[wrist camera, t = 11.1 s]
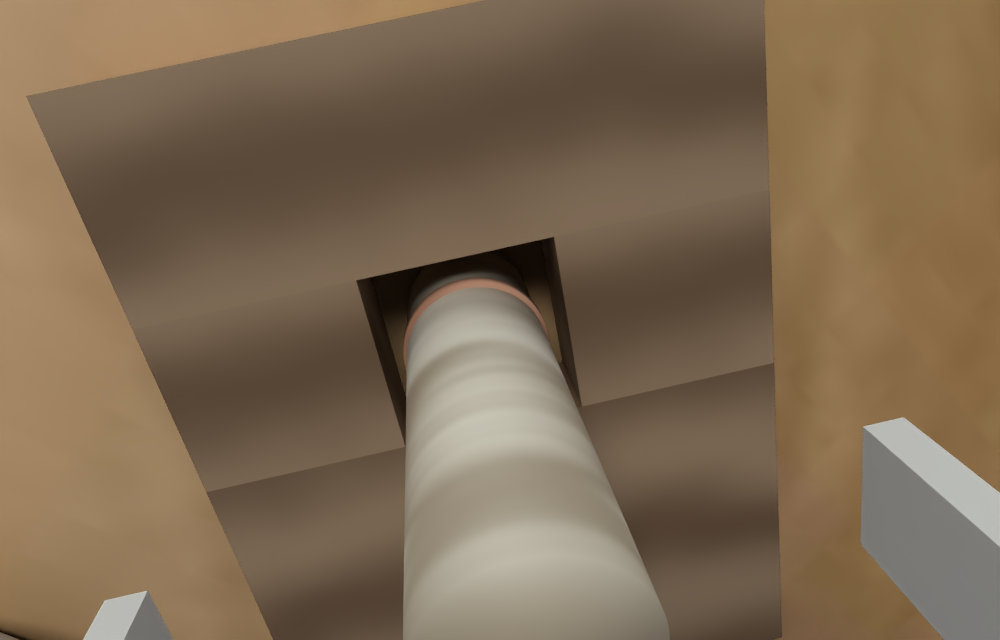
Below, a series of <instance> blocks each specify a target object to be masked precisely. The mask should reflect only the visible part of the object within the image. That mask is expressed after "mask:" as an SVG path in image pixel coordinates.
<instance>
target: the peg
mask: <svg viewBox="0 0 1000 640" xmlns="http://www.w3.org/2000/svg"><path fill="white" fill-rule="evenodd" d="M403 353H404V363H405V368H406V371H407V386H406V458H405V529H404V600H403V640H670V631H669V626H668V622H667V618H666V615H665V613H664V610H663V608H662V606H661V603H660V601H659V599H658V596H657V594H656V592H655V589H654V587H653V585H652V582H651V580H650V578H649V575H648V573H647V571H646V568H645V566H644V564H643V561H642V559H641V556H640V554H639V552H638V549H637V547H636V545H635V542H634V540H633V538H632V535H631V533H630V531H629V528H628V526H627V524H626V521H625V519H624V517H623V514H622V512H621V510H620V507H619V505H618V503H617V500H616V498H615V496H614V493H613V491H612V489H611V486H610V484H609V481H608V479H607V477H606V474H605V472H604V470H603V467H602V465H601V463H600V460H599V458H598V456H597V453H596V451H595V449H594V446H593V444H592V442H591V439H590V437H589V435H588V432H587V430H586V428H585V425H584V423H583V421H582V418H581V416H580V413H579V411H578V409H577V406H576V404H575V402H574V399H573V397H572V395H571V392H570V390H569V388H568V385H567V383H566V381H565V378H564V376H563V374H562V371H561V369H560V367H559V364H558V362H557V360H556V357H555V355H554V353H553V350H552V348H551V345H550V342H549V335H548V331H547V327H546V325H545V322H544V320H543V318H542V316H541V313H540V312H539V310H538V308H537V307H536V305H535V304H534V303H533V301H532V300H531V299H530V296H529V294H528V292H527V289H526V287H525V285H524V282H523V280H522V278H521V276H520V275H519V273H518V272H517V271H516V269H515V268H514V267H513V266H512V265H511V264H510V263H509V262H507V261H506V260H505V259H503V258H502V257H500V256H498V255H496V254H494V253H491V252H488V251H487V252H483V253H478V254H474V255H469V256H465V257H460V258H455V259H451V260H446V261H442V262H437V263H433V264H428V265H426V266H425V267H424V268H423V269H422V270H421V271H420V273H419V274H418V275H417V277H416V278H415V280H414V282H413V284H412V287H411V289H410V293H409V297H408V315H407V327H406V331H405V335H404V348H403Z"/></svg>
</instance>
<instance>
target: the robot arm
mask: <svg viewBox="0 0 1000 640" xmlns="http://www.w3.org/2000/svg"><path fill="white" fill-rule="evenodd" d="M861 545H862V546H863V547H864V548H865V549H866V551H867V552H868V553H869V554H870V555H871V556H872V558H873V559H874V560H875V561H876V562H877V563H878V564H879V566H880V567H881V568H882V569H883V570H884V571H885V572H886V574H887V575H888V576H889V577H890V578H891V579H892V581H893V582H894V583H895V584H896V585H897V586H898V587H899V589H900V590H901V591H902V592H903V593H904V594H905V595H906V597H907V598H908V599H909V600H910V601H911V602H912V603H913V605H914V606H915V607H916V608H917V609H918V610H919V612H920V613H921V614H922V615H923V616H924V617H925V618H926V620H927V621H928V622H929V623H930V624H931V625H932V626H933V628H934V629H935V630H936V631H937V632H938V633H939V635H940V636H941V637H942V638H943V639H944V640H1000V493H999V492H998V491H997V490H995V489H994V488H993V487H992V486H990V485H989V484H988V483H986V482H985V481H984V480H983V479H981V478H980V477H979V476H978V475H976V474H975V473H974V472H972V471H971V470H970V469H969V468H967V467H966V466H965V465H964V464H962V463H961V462H960V461H958V460H957V459H956V458H955V457H953V456H952V455H951V454H950V453H948V452H947V451H946V450H945V449H943V448H942V447H941V446H939V445H938V444H937V443H936V442H934V441H933V440H932V439H931V438H929V437H928V436H927V435H925V434H924V433H923V432H922V431H920V430H919V429H918V428H917V427H915V426H914V425H913V424H911V423H910V422H909V421H908V420H906V419H905V418H904V417H903V418H899V419H894V420H890V421H886V422H881V423H877V424H873V425H868V426H864V427H863V460H862V509H861ZM83 640H173V638H172V637H171V635H170V633H169V631H168V629H167V627H166V625H165V623H164V621H163V619H162V617H161V615H160V613H159V611H158V610H157V608H156V606H155V604H154V602H153V600H152V598H151V596H150V594H149V592H148V591H144V592H140V593H135V594H131V595H126V596H122V597H118V598H113V599H109V600H105V601H104V603H103V604H102V606H101V608H100V610H99V612H98V613H97V615H96V617H95V619H94V621H93V622H92V624H91V626H90V628H89V630H88V631H87V633H86V635H85V637H84V639H83Z"/></svg>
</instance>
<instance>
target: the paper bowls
mask: <svg viewBox="0 0 1000 640" xmlns="http://www.w3.org/2000/svg"><path fill="white" fill-rule="evenodd" d="M0 640H19V639H17V638H14V637H11V636H9V635H6V634H4V633H1V632H0Z"/></svg>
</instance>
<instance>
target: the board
mask: <svg viewBox="0 0 1000 640" xmlns="http://www.w3.org/2000/svg"><path fill="white" fill-rule="evenodd" d="M26 97H27V99H28V101H29V103H30V106H31V108H32V110H33V112H34V114H35V117H36V119H37V121H38V123H39V125H40V128H41V130H42V132H43V134H44V136H45V139H46V141H47V143H48V145H49V147H50V150H51V152H52V154H53V156H54V158H55V161H56V163H57V165H58V167H59V169H60V172H61V174H62V176H63V178H64V180H65V183H66V185H67V187H68V189H69V191H70V194H71V196H72V198H73V200H74V202H75V205H76V207H77V209H78V211H79V213H80V215H81V218H82V220H83V222H84V224H85V226H86V229H87V231H88V233H89V235H90V237H91V240H92V242H93V244H94V246H95V248H96V251H97V253H98V255H99V257H100V259H101V262H102V264H103V266H104V268H105V270H106V273H107V275H108V277H109V279H110V281H111V284H112V286H113V288H114V290H115V292H116V295H117V297H118V299H119V301H120V303H121V306H122V308H123V310H124V312H125V314H126V317H127V319H128V321H129V323H130V325H131V328H132V330H133V332H134V334H135V336H136V339H137V341H138V343H139V345H140V347H141V350H142V352H143V354H144V356H145V358H146V361H147V363H148V365H149V367H150V369H151V371H152V374H153V376H154V378H155V380H156V382H157V385H158V387H159V389H160V391H161V393H162V396H163V398H164V400H165V402H166V404H167V407H168V409H169V411H170V413H171V415H172V418H173V420H174V422H175V424H176V426H177V429H178V431H179V433H180V435H181V437H182V440H183V442H184V444H185V446H186V448H187V451H188V453H189V455H190V457H191V459H192V462H193V464H194V466H195V468H196V470H197V473H198V475H199V477H200V479H201V481H202V484H203V486H204V488H205V490H206V492H207V495H208V497H209V499H210V501H211V503H212V506H213V508H214V510H215V512H216V514H217V517H218V519H219V521H220V523H221V525H222V527H223V530H224V532H225V534H226V536H227V538H228V541H229V543H230V545H231V547H232V549H233V552H234V554H235V556H236V558H237V560H238V563H239V565H240V567H241V569H242V571H243V574H244V576H245V578H246V580H247V582H248V585H249V587H250V589H251V591H252V593H253V596H254V598H255V600H256V602H257V604H258V607H259V609H260V611H261V613H262V615H263V618H264V620H265V622H266V624H267V626H268V629H269V631H270V633H271V635H272V637H273V640H403V600H404V529H405V458H406V397H405V393H404V390H403V386H402V383H401V379H400V376H399V372H398V369H397V365H396V362H395V358H394V355H393V351H392V348H391V344H390V341H389V337H388V334H387V330H386V327H385V323H384V320H383V316H382V313H381V309H380V306H379V302H378V299H377V295H376V292H375V288H374V285H373V281H372V278H371V277H374V276H378V275H383V274H387V273H392V272H396V271H401V270H406V269H410V268H415V267H419V266H424V265H428V264H433V263H437V262H442V261H446V260H451V259H455V258H460V257H465V256H469V255H474V254H478V253H483V252H487V251H492V250H496V249H501V248H505V247H510V246H515V245H519V244H524V243H528V242H533V241H537V240H542V246H543V252H544V257H545V263H546V269H547V275H548V281H549V286H550V292H551V298H552V304H553V310H554V316H555V321H556V327H557V333H558V339H559V345H560V350H561V356H562V362H563V363H561V364H559V367H560V369H561V371H562V374H563V376H564V378H565V381H566V383H567V385H568V388H569V390H570V392H571V395H572V397H573V399H574V402H575V404H576V406H577V409H578V411H579V413H580V416H581V418H582V421H583V423H584V425H585V428H586V430H587V432H588V435H589V437H590V439H591V442H592V444H593V446H594V449H595V451H596V453H597V456H598V458H599V460H600V463H601V465H602V467H603V470H604V472H605V474H606V477H607V479H608V481H609V484H610V486H611V489H612V491H613V493H614V496H615V498H616V500H617V503H618V505H619V507H620V510H621V512H622V514H623V517H624V519H625V521H626V524H627V526H628V528H629V531H630V533H631V535H632V538H633V540H634V542H635V545H636V547H637V549H638V552H639V554H640V556H641V559H642V561H643V564H644V566H645V568H646V571H647V573H648V575H649V578H650V580H651V582H652V585H653V587H654V589H655V592H656V594H657V596H658V599H659V601H660V603H661V606H662V608H663V610H664V613H665V615H666V618H667V622H668V626H669V631H670V640H773V639H777V638H781V637H782V624H781V589H780V553H779V517H778V481H777V446H776V410H775V374H774V339H773V303H772V267H771V231H770V196H769V160H768V124H767V89H766V53H765V17H764V0H485V1H480V2H475V3H471V4H466V5H461V6H456V7H451V8H447V9H442V10H437V11H432V12H428V13H423V14H418V15H413V16H408V17H404V18H399V19H394V20H389V21H384V22H380V23H375V24H370V25H365V26H360V27H356V28H351V29H346V30H341V31H336V32H332V33H327V34H322V35H317V36H312V37H308V38H303V39H298V40H293V41H289V42H284V43H279V44H274V45H269V46H265V47H260V48H255V49H250V50H245V51H241V52H236V53H231V54H226V55H221V56H217V57H212V58H207V59H202V60H197V61H193V62H188V63H183V64H178V65H173V66H169V67H164V68H159V69H154V70H150V71H145V72H140V73H135V74H130V75H126V76H121V77H116V78H111V79H106V80H102V81H97V82H92V83H87V84H82V85H78V86H73V87H68V88H63V89H58V90H54V91H49V92H44V93H39V94H34V95H30V96H26Z"/></svg>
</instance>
